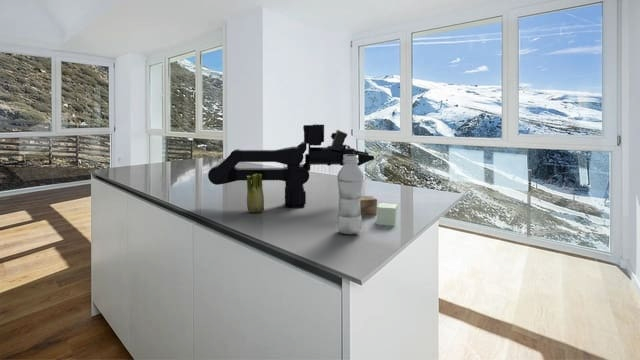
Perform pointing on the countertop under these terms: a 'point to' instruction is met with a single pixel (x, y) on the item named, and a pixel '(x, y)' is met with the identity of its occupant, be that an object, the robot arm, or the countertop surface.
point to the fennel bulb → (255, 194)
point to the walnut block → (368, 205)
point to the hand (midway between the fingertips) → (371, 156)
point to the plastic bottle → (349, 196)
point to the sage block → (386, 214)
